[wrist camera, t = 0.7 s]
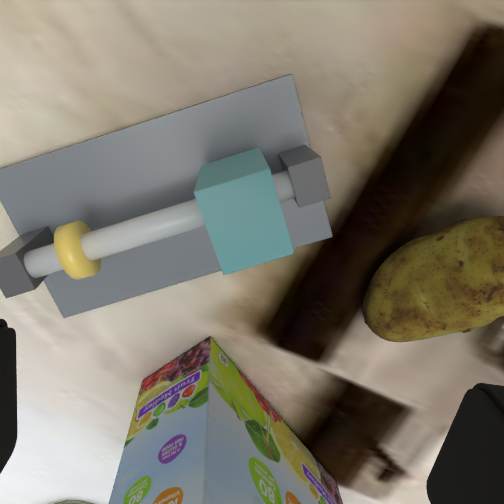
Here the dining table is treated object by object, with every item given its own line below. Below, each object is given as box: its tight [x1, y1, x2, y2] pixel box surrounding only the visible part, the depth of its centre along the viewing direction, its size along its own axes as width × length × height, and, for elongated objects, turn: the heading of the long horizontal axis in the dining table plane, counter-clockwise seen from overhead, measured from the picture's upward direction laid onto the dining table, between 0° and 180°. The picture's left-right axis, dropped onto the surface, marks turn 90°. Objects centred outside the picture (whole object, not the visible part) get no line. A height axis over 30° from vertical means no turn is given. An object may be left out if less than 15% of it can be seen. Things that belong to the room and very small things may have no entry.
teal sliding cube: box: [194, 147, 294, 275], centre depth 26 cm, size 4×5×8 cm
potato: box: [362, 216, 504, 342], centre depth 32 cm, size 8×13×8 cm, turn 110°
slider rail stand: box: [0, 74, 332, 318], centre depth 30 cm, size 22×12×7 cm, turn 107°
